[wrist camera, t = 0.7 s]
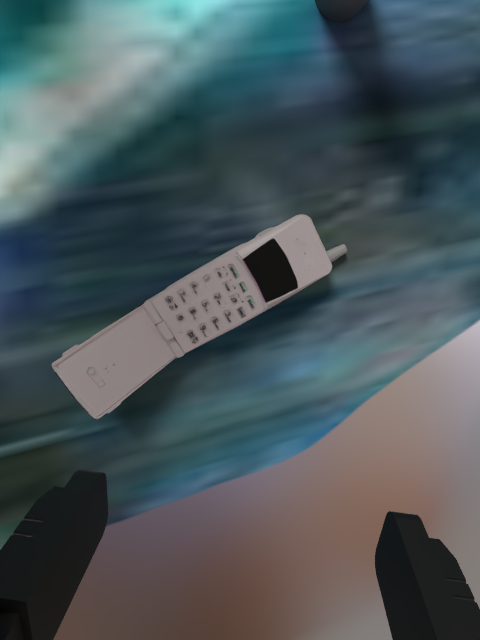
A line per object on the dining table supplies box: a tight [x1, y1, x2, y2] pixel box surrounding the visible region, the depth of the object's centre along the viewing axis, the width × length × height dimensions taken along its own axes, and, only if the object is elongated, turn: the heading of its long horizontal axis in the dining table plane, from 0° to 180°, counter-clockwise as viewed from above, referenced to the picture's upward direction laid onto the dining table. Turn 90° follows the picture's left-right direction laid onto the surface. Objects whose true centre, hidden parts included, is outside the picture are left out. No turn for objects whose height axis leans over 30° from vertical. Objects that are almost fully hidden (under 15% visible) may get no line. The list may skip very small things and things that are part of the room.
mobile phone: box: [52, 214, 348, 419], centre depth 32 cm, size 6×6×25 cm
